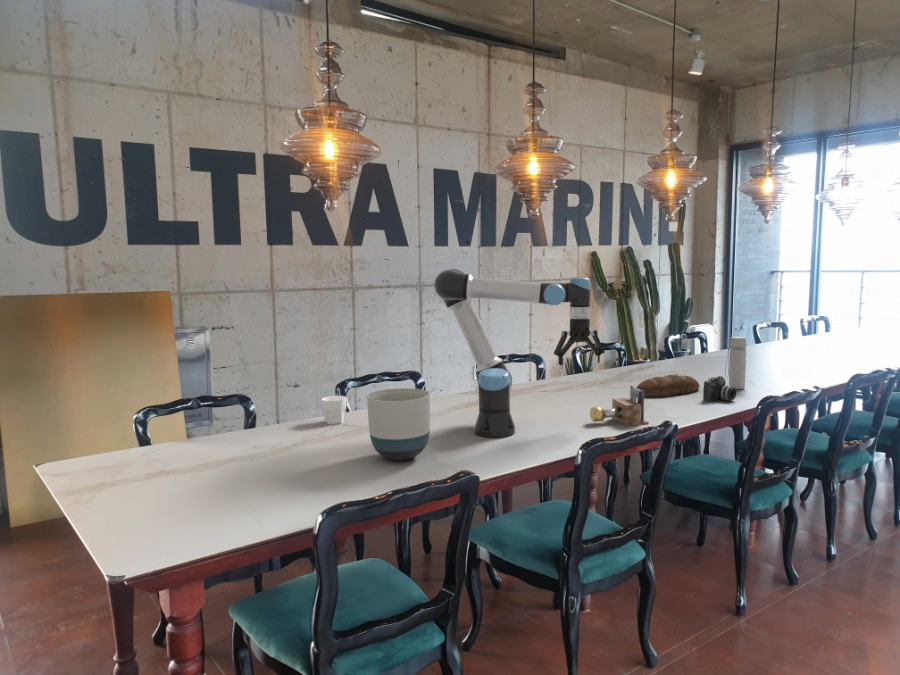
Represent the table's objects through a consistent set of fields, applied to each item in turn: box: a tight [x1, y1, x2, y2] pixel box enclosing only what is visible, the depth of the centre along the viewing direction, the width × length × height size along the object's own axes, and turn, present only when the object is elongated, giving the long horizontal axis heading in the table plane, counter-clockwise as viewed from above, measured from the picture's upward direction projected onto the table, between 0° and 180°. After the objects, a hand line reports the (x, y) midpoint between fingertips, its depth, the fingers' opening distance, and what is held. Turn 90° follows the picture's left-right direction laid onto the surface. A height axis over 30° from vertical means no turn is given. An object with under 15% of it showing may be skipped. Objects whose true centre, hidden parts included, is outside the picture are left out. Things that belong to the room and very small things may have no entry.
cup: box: [321, 395, 347, 425], centre depth 250 cm, size 10×10×10 cm
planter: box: [366, 387, 431, 462], centre depth 200 cm, size 20×20×21 cm
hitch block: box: [611, 385, 649, 426], centre depth 239 cm, size 9×12×13 cm
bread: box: [635, 374, 700, 398], centre depth 290 cm, size 16×36×8 cm, turn 115°
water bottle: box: [724, 336, 747, 390], centre depth 295 cm, size 9×8×25 cm
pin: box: [589, 406, 622, 423], centre depth 238 cm, size 12×6×6 cm, turn 101°
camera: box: [702, 375, 737, 403], centre depth 271 cm, size 14×11×10 cm
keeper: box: [631, 387, 641, 404], centre depth 239 cm, size 2×7×6 cm, turn 11°
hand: (578, 372), depth 235 cm, fingers open, 13 cm apart
